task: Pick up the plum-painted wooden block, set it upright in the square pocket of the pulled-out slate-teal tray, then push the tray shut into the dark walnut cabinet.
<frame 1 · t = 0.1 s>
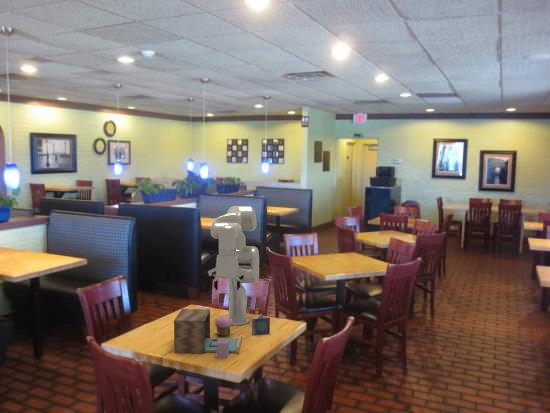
hand: (227, 289, 213), 31 cm above the table, tool pointing down, fingers open, 9 cm apart
cupcake: (223, 335, 241), on the table
flask: (260, 334, 243), on the table
cabinet: (192, 345, 227), on the table
tray: (221, 342, 226), point 2 cm above the table, slide at 11.0 cm
block: (222, 356, 215), on the table
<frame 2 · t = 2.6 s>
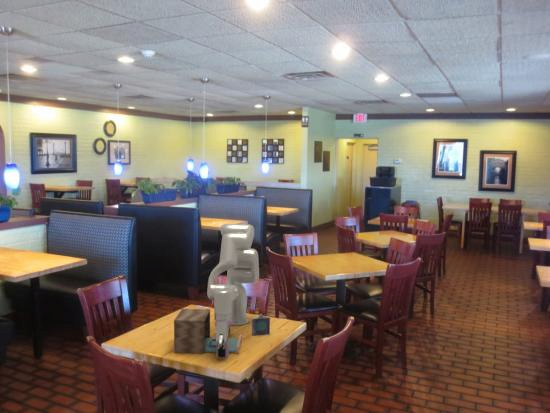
hand: (222, 353, 215), 1 cm above the table, tool pointing down, fingers open, 7 cm apart
tray: (221, 342, 226), point 2 cm above the table, slide at 11.0 cm, touching gripper
everything else where it was.
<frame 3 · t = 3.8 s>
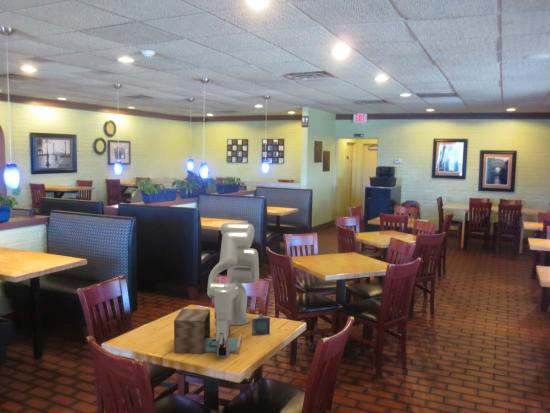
hand: (223, 352, 216), 1 cm above the table, tool pointing down, fingers closed on block, 5 cm apart
tray: (221, 342, 226), point 2 cm above the table, slide at 11.0 cm, touching block, gripper
block: (223, 355, 216), on the table, touching gripper, tray
everything else where it was.
when the fingers open (3 cm above the table, at t = 9.9 s): block stays where it is, resting on tray.
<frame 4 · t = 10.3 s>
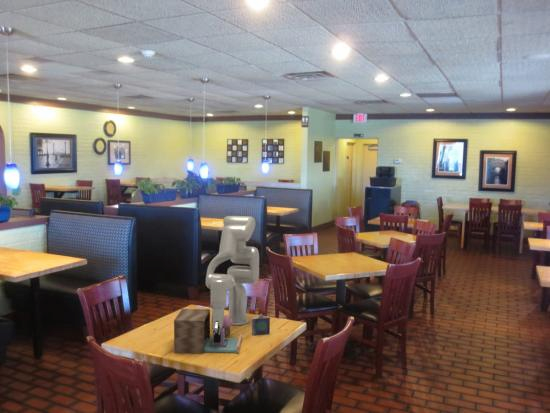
hand: (218, 338, 226), 4 cm above the table, tool pointing down, fingers open, 9 cm apart
tray: (221, 342, 226), point 2 cm above the table, slide at 11.0 cm, touching block
block: (218, 343, 226), point 1 cm above the table, touching tray
everything else where it was.
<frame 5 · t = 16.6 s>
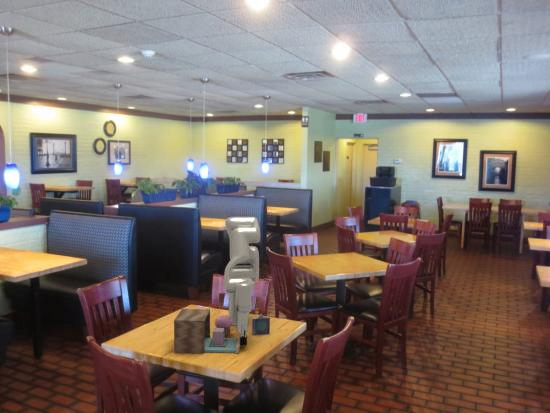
hand: (243, 344, 226), 1 cm above the table, tool pointing down, fingers closed
tray: (221, 342, 226), point 2 cm above the table, slide at 10.9 cm, touching block, gripper
everything else where it was.
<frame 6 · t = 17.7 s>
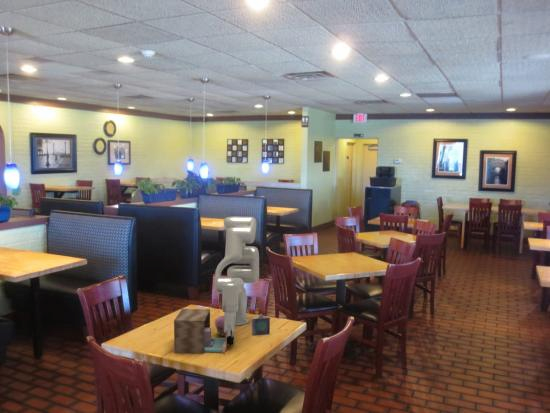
hand: (230, 344, 226), 1 cm above the table, tool pointing down, fingers closed
tray: (208, 342, 226), point 2 cm above the table, slide at 4.5 cm, touching block, gripper
block: (205, 343, 227), point 1 cm above the table, touching tray
everything else where it was.
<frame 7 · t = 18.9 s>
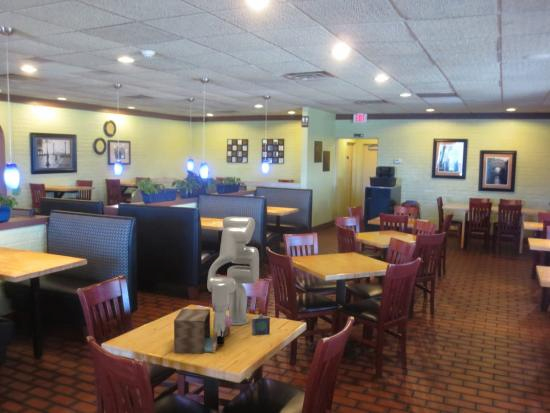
hand: (220, 344, 226), 1 cm above the table, tool pointing down, fingers closed
tray: (198, 342, 226), point 2 cm above the table, slide at -0.1 cm, touching block, gripper
block: (195, 343, 227), point 1 cm above the table, touching tray
everything else where it was.
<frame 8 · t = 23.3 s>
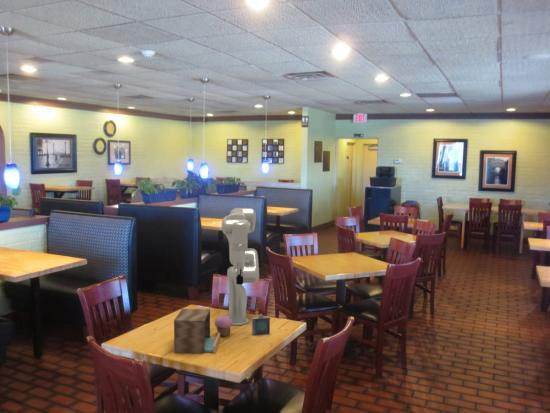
hand: (239, 283, 230), 29 cm above the table, tool pointing down, fingers closed
tray: (199, 342, 226), point 2 cm above the table, slide at 0.0 cm, touching block
everything else where it was.
at the end: tray slide at 0.0 cm; block inside the target area on the cabinet (1.0 cm from its centre), point 1.2 cm above the cabinet's base; block tilted 0° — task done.
